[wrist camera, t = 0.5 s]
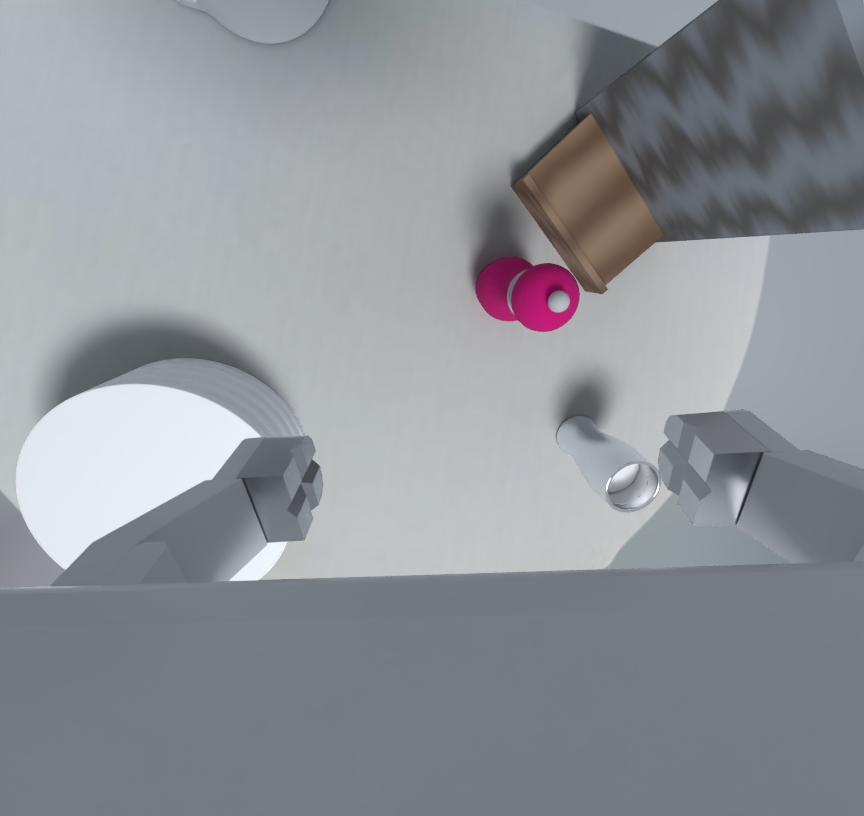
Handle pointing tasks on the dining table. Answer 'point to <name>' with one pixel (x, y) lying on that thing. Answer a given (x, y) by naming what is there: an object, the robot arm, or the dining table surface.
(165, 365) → the plate stack
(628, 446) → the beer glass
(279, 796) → the robot arm
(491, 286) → the pepper mill
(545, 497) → the dining table surface
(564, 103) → the dining table surface
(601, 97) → the ledge shelf
